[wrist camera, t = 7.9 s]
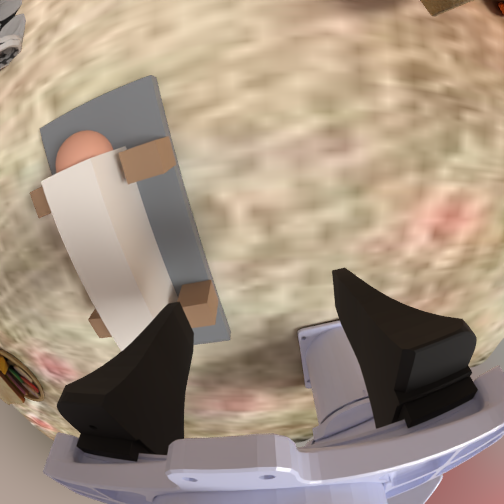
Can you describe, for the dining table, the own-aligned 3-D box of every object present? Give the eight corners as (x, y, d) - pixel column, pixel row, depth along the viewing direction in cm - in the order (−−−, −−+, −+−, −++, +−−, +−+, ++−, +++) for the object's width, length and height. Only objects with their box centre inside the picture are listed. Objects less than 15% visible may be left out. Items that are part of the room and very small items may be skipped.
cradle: (232, 330, 26) (231, 364, 22) (134, 342, 27) (123, 372, 23) (159, 76, 16) (137, 67, 12) (46, 128, 17) (14, 135, 13)
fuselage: (184, 312, 23) (173, 355, 19) (143, 318, 24) (126, 359, 19) (118, 119, 16) (81, 123, 12) (73, 139, 17) (32, 150, 12)
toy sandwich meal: (59, 401, 34) (50, 422, 30) (16, 390, 35) (7, 408, 31) (17, 346, 29) (2, 368, 24) (-21, 342, 29) (-34, 359, 25)
